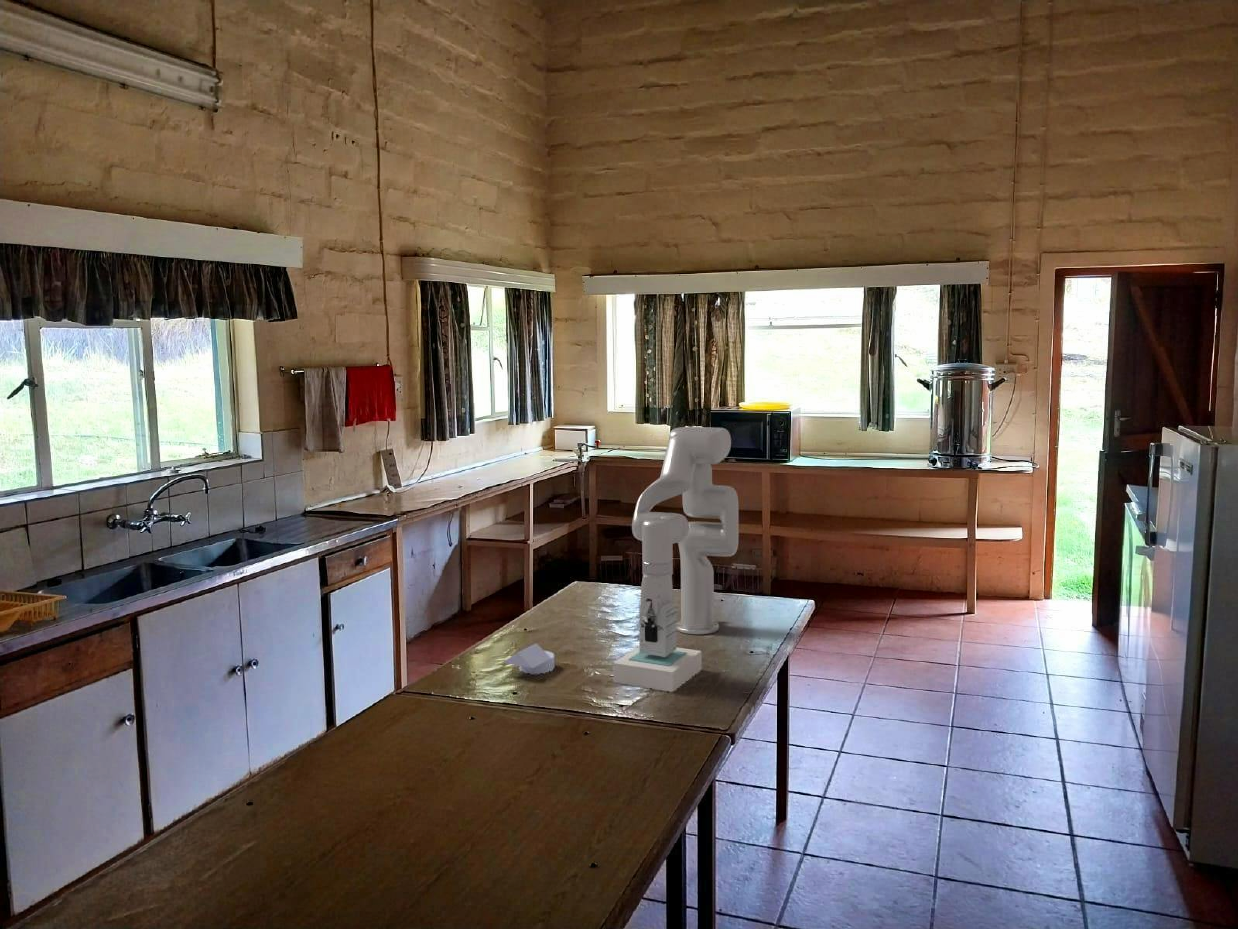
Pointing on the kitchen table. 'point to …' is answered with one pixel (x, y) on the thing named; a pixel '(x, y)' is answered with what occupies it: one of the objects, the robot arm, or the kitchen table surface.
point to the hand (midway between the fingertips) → (658, 636)
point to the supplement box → (660, 631)
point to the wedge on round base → (533, 660)
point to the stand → (657, 669)
